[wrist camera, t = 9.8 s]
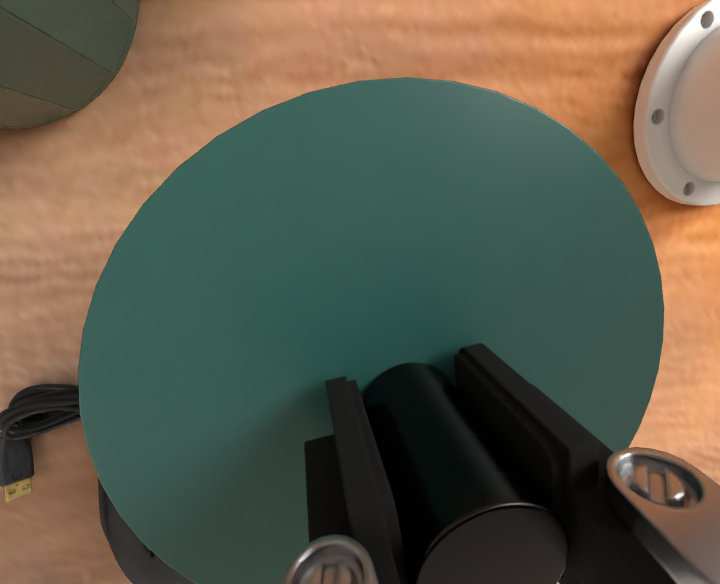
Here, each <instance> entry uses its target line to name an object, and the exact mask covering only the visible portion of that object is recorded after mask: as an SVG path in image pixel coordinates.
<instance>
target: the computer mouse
mask: <svg viewBox="0 0 720 584" xmlns="http://www.w3.org/2000/svg"><path fill="white" fill-rule="evenodd" d="M55 410H56V411H55ZM49 411H53V412H49ZM42 412H49V413H45V414H43V413H42ZM80 419H81V416H80V406H79V386H72V385H64V384H44V385H36V386H31V387H28V388H26V389H23V390H22V391H20V392H18V393H17V394H16V395H15V396H14V397H13V399H12V400H11V402H10V404H9V407H8V408H7V409H6V410H4V411H2V412H1V413H0V430H2V434H1V436H0V486H4V489H5V497H6V502H10V501H12V500H15V499H16V498H19V497H22V496H26V495H28V494H30V493H32V487H31V477H32V476H33V475H34V474H35V473H34V464H33V453H32V446H31V443H30V441H29V439H28V438H29V437H33V436H35V435H40V434H42V433H45V432H48V431H51V430H54V429H57V428H60V427H62V426H65V425H67V424H70V423H73V422H75V421H78V420H80ZM98 491H99V509H100V519H101V525H102V528H103V531H104V533H105V536H106V538H107V540H108V542H109V545H110V547H111V550H112V552H113V554H114V556H115V558H116V560H117V562H118V564H119V566H120V568H121V569H122V571H123V572H124V573H125V575H126V576H127V577H128V579H129V580H130V581H131V582H132V583H133V584H196V583H194V582H192V581H191V580H190V579H188V578H187V577H185V576H184V575H182V574H181V573H179V572H178V571H176V570H175V569H173V568H172V567H170V566H169V565H167V564H166V563H165V562H164V561H163V560H162V559H160V558H159V557H158V556H157V555H156V554H155V553H154V552H153V551H152V550H150V549H149V548H148V547H147V546H146V545H145V544H144V543H143V542H142V541H141V540H140V539H139V538H138V537H137V535H136V534H135V533H134V532H133V531H132V529H131V528H130V527H129V526H128V524H127V523H126V522H125V521H124V520H123V518H122V517H121V516H120V515H119V513H118V511H117V510H116V508H115V506H114V505H113V503H112V501H111V500H110V498H109V496H108V495H107V493H106V491H105V489H104V488H103V486H102V484H101V482H100V479H99V477H98Z"/></svg>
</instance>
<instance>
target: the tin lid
mask: <svg viewBox="0 0 720 584" xmlns="http://www.w3.org/2000/svg"><path fill="white" fill-rule="evenodd" d="M663 325H664V302H663V292H662V282H661V274H660V270H659V266H658V262H657V258H656V254H655V249H654V245H653V242H652V240H651V237H650V235H649V232H648V230H647V227H646V225H645V222H644V220H643V218H642V215H641V213H640V211H639V209H638V207H637V206H636V204H635V202H634V201H633V199H632V197H631V196H630V194H629V192H628V191H627V189H626V187H625V186H624V184H623V182H622V181H621V180H620V179H619V177H618V176H617V175H616V174H615V173H614V171H613V170H612V169H611V168H610V167H609V165H608V164H607V163H606V162H605V161H604V159H603V158H602V157H601V156H600V155H599V154H598V153H597V152H596V151H595V150H594V149H593V148H592V147H590V146H589V145H588V144H587V143H586V142H585V141H583V140H582V139H581V138H580V137H579V136H578V135H577V134H575V133H574V132H573V131H572V130H571V129H569V128H568V127H566V126H565V125H563V124H561V123H560V122H558V121H556V120H555V119H553V118H552V117H550V116H548V115H547V114H545V113H544V112H542V111H540V110H539V109H537V108H535V107H533V106H531V105H528V104H526V103H523V102H521V101H518V100H516V99H514V98H511V97H509V96H506V95H504V94H502V93H499V92H497V91H493V90H489V89H484V88H480V87H476V86H472V85H468V84H463V83H459V82H455V81H446V80H434V79H421V78H408V77H405V78H392V79H378V80H365V81H356V82H352V83H347V84H343V85H338V86H334V87H330V88H325V89H321V90H316V91H312V92H309V93H306V94H303V95H301V96H298V97H296V98H293V99H291V100H288V101H285V102H283V103H280V104H278V105H275V106H273V107H270V108H267V109H265V110H262V111H261V112H259V113H257V114H255V115H254V116H252V117H250V118H248V119H247V120H245V121H243V122H241V123H240V124H238V125H236V126H234V127H233V128H231V129H229V130H227V131H226V132H224V133H222V134H220V135H219V136H217V137H216V138H214V139H213V140H212V141H211V142H209V143H208V144H207V145H206V146H204V147H203V148H202V149H200V150H199V151H198V152H197V153H195V154H194V155H193V156H192V157H190V158H189V159H188V160H187V161H185V162H184V163H183V164H181V165H180V166H179V167H178V168H177V169H176V170H175V171H174V172H173V173H172V174H171V175H170V176H169V177H168V178H167V179H166V180H165V181H164V183H163V184H162V185H161V186H160V187H159V188H158V189H157V190H156V191H155V192H154V193H153V194H152V195H151V196H150V197H149V199H148V200H147V201H146V202H145V203H144V204H143V205H142V207H141V208H140V210H139V211H138V213H137V214H136V215H135V217H134V218H133V220H132V221H131V223H130V224H129V226H128V227H127V229H126V230H125V231H124V233H123V234H122V236H121V237H120V239H119V240H118V242H117V243H116V245H115V247H114V249H113V251H112V253H111V255H110V257H109V259H108V262H107V264H106V266H105V268H104V270H103V272H102V274H101V276H100V278H99V280H98V283H97V285H96V287H95V291H94V294H93V297H92V301H91V304H90V308H89V311H88V314H87V318H86V321H85V325H84V328H83V335H82V343H81V351H80V359H79V368H78V383H79V406H80V416H81V420H82V425H83V430H84V434H85V439H86V444H87V448H88V452H89V454H90V457H91V459H92V462H93V464H94V467H95V469H96V472H97V474H98V477H99V479H100V482H101V484H102V486H103V488H104V489H105V491H106V493H107V495H108V496H109V498H110V500H111V501H112V503H113V505H114V506H115V508H116V510H117V511H118V513H119V515H120V516H121V517H122V518H123V520H124V521H125V522H126V523H127V524H128V526H129V527H130V528H131V529H132V531H133V532H134V533H135V534H136V535H137V537H138V538H139V539H140V540H141V541H142V542H143V543H144V544H145V545H146V546H147V547H148V548H149V549H150V550H152V551H153V552H154V553H155V554H156V555H157V556H158V557H159V558H160V559H162V560H163V561H164V562H165V563H166V564H167V565H169V566H170V567H172V568H173V569H175V570H176V571H178V572H179V573H181V574H182V575H184V576H185V577H187V578H188V579H190V580H191V581H192V582H194V583H196V584H281V581H282V578H283V576H284V573H285V571H286V568H287V566H288V564H289V563H290V562H291V560H292V559H293V557H294V556H295V555H296V553H297V552H299V551H300V550H301V549H302V548H303V547H304V546H306V545H307V544H308V543H309V533H308V512H307V492H306V471H305V451H304V443H305V441H309V440H313V439H316V438H320V437H324V436H328V435H332V434H334V430H333V424H332V419H331V413H330V407H329V401H328V395H327V389H326V383H325V381H326V380H330V379H334V378H339V377H343V376H346V378H347V381H350V380H356V382H357V386H358V389H359V392H360V395H361V398H362V401H363V404H364V407H365V410H366V413H367V416H368V420H369V423H370V426H371V429H372V432H373V435H374V438H375V441H376V444H377V447H378V450H379V454H380V457H381V460H382V463H383V466H384V469H385V472H386V475H387V478H388V481H389V484H390V488H391V491H392V495H393V498H394V502H395V507H396V511H397V516H398V521H399V527H400V533H401V538H402V544H403V549H404V555H405V560H406V564H405V567H406V575H407V578H408V582H409V584H557V582H558V581H559V580H560V578H561V576H562V574H563V572H564V570H565V567H566V565H567V561H568V557H569V549H570V545H569V537H568V534H567V530H566V528H565V526H564V523H563V522H562V520H561V519H560V518H559V516H558V515H557V514H556V512H555V511H554V510H553V509H552V507H551V506H550V505H549V504H548V502H547V501H546V500H545V499H544V497H543V496H542V495H541V494H540V492H539V491H538V490H537V489H536V487H535V486H534V485H533V484H532V482H531V481H530V480H529V479H528V477H527V476H526V475H525V474H524V472H523V471H522V470H521V469H520V467H519V466H518V465H517V464H516V462H515V461H514V460H513V459H512V457H511V456H510V455H509V454H508V452H507V451H506V450H505V449H504V447H503V446H502V445H501V443H500V442H499V441H498V440H497V438H496V437H495V436H494V435H493V433H492V432H491V431H490V430H489V428H488V427H487V426H486V425H485V423H484V422H483V421H482V420H481V418H480V417H479V416H478V415H477V413H476V412H475V411H474V410H473V408H472V407H471V406H470V405H469V403H468V402H467V401H466V400H465V398H464V397H463V396H462V395H461V393H460V392H459V391H458V390H457V387H456V378H455V368H454V356H455V355H457V354H459V350H460V348H462V347H466V346H470V345H474V344H478V343H483V344H484V345H485V346H487V347H488V348H489V349H490V350H491V351H492V352H494V353H495V354H496V355H497V356H498V357H500V358H501V359H502V360H503V361H504V362H505V363H507V364H508V365H509V366H510V367H511V368H512V369H514V370H515V371H516V372H517V373H518V374H519V375H521V376H522V377H523V378H524V379H525V380H527V381H528V382H529V383H530V384H532V385H534V386H536V387H537V388H538V389H539V390H541V391H542V392H543V393H544V394H545V395H547V396H548V397H549V398H550V399H551V400H552V401H554V402H555V403H556V404H557V405H558V406H560V407H561V408H562V409H563V410H564V411H566V412H567V413H568V414H569V415H570V416H571V417H573V418H574V419H575V420H576V421H577V422H579V423H580V424H581V425H582V426H583V427H584V428H586V429H587V430H588V431H589V432H590V433H592V434H593V435H594V436H595V437H596V438H598V439H599V440H600V441H601V442H602V443H603V444H605V445H606V446H607V447H608V448H609V449H611V450H612V451H613V452H616V451H619V450H621V449H624V448H628V447H629V446H630V444H631V442H632V440H633V438H634V436H635V434H636V432H637V430H638V429H639V426H640V424H641V421H642V419H643V416H644V414H645V411H646V409H647V406H648V404H649V401H650V398H651V394H652V391H653V387H654V384H655V380H656V376H657V373H658V369H659V362H660V356H661V349H662V343H663Z"/></svg>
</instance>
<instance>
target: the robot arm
mask: <svg viewBox="0 0 720 584" xmlns="http://www.w3.org/2000/svg"><path fill="white" fill-rule="evenodd" d="M633 127H634V143H635V149H636V153H637V157H638V161H639V164H640V166H641V168H642V170H643V173H644V175H645V177H646V178H647V180H648V181H649V182H650V183H651V185H652V186H653V187H654V189H655V190H657V191H658V192H659V193H661V194H662V195H663V196H664V197H666V198H667V199H670V200H672V201H675V202H677V203H680V204H688V205H698V206H714V205H719V204H720V0H705V1H704V2H702V3H701V4H699V5H697V6H696V7H694V8H693V9H691V10H690V11H689V12H688V13H687V14H686V15H685V16H684V17H683V18H681V19H680V20H679V21H678V22H677V23H676V24H675V25H674V26H673V28H672V29H671V30H670V31H669V33H668V34H667V35H666V37H665V38H664V39H663V40H662V42H661V43H660V45H659V47H658V48H657V50H656V52H655V54H654V55H653V57H652V59H651V60H650V62H649V65H648V67H647V69H646V72H645V74H644V77H643V79H642V82H641V85H640V89H639V93H638V97H637V101H636V105H635V115H634V125H633ZM454 368H455V378H456V387H457V390H458V391H459V392H460V393H461V395H462V396H463V397H464V398H465V400H466V401H467V402H468V403H469V405H470V406H471V407H472V408H473V410H474V411H475V412H476V413H477V415H478V416H479V417H480V418H481V420H482V421H483V422H484V423H485V425H486V426H487V427H488V428H489V430H490V431H491V432H492V433H493V435H494V436H495V437H496V438H497V440H498V441H499V442H500V443H501V445H502V446H503V447H504V449H505V450H506V451H507V452H508V454H509V455H510V456H511V457H512V459H513V460H514V461H515V462H516V464H517V465H518V466H519V467H520V469H521V470H522V471H523V472H524V474H525V475H526V476H527V477H528V479H529V480H530V481H531V482H532V484H533V485H534V486H535V487H536V489H537V490H538V491H539V492H540V494H541V495H542V496H543V497H544V499H545V500H546V501H547V502H548V504H549V505H550V506H551V507H552V509H553V510H554V511H555V512H556V514H557V515H558V516H559V518H560V519H561V520H562V522H563V523H564V526H565V528H566V530H567V534H568V537H569V545H570V549H569V557H568V561H567V565H566V567H565V570H564V572H563V574H562V576H561V578H560V580H559V581H558V582H559V583H560V584H720V486H719V485H718V484H717V483H715V482H714V481H713V480H711V479H710V478H709V477H708V476H706V475H705V474H704V473H702V472H701V471H700V470H698V469H697V468H695V467H694V466H692V465H691V464H689V463H688V462H686V461H684V460H683V459H680V458H678V457H676V456H674V455H671V454H669V453H666V452H662V451H659V450H655V449H650V448H640V447H633V448H624V449H621V450H619V451H616V452H613V451H612V450H611V449H609V448H608V447H607V446H606V445H605V444H603V443H602V442H601V441H600V440H599V439H598V438H596V437H595V436H594V435H593V434H592V433H590V432H589V431H588V430H587V429H586V428H584V427H583V426H582V425H581V424H580V423H579V422H577V421H576V420H575V419H574V418H573V417H571V416H570V415H569V414H568V413H567V412H566V411H564V410H563V409H562V408H561V407H560V406H558V405H557V404H556V403H555V402H554V401H552V400H551V399H550V398H549V397H548V396H547V395H545V394H544V393H543V392H542V391H541V390H539V389H538V388H537V387H536V386H534V385H532V384H530V383H529V382H528V381H527V380H525V379H524V378H523V377H522V376H521V375H519V374H518V373H517V372H516V371H515V370H514V369H512V368H511V367H510V366H509V365H508V364H507V363H505V362H504V361H503V360H502V359H501V358H500V357H498V356H497V355H496V354H495V353H494V352H492V351H491V350H490V349H489V348H488V347H487V346H485V345H484V344H483V343H478V344H474V345H470V346H466V347H462V348H460V350H459V354H457V355H455V356H454ZM325 383H326V389H327V395H328V401H329V407H330V413H331V419H332V424H333V430H334V434H332V435H328V436H324V437H320V438H316V439H313V440H309V441H305V443H304V451H305V471H306V492H307V512H308V533H309V543H308V544H307V545H306V546H304V547H303V548H302V549H301V550H300V551H299V552H297V553H296V555H295V556H294V557H293V559H292V560H291V562H290V563H289V564H288V566H287V568H286V571H285V573H284V576H283V578H282V581H281V584H409V582H408V578H407V575H406V567H405V564H406V560H405V555H404V549H403V544H402V538H401V533H400V527H399V521H398V516H397V511H396V507H395V502H394V498H393V495H392V491H391V488H390V484H389V481H388V478H387V475H386V472H385V469H384V466H383V463H382V460H381V457H380V454H379V450H378V447H377V444H376V441H375V438H374V435H373V432H372V429H371V426H370V423H369V420H368V416H367V413H366V410H365V407H364V404H363V401H362V398H361V395H360V392H359V389H358V386H357V382H356V380H350V381H347V378H346V376H343V377H339V378H334V379H330V380H326V381H325Z"/></svg>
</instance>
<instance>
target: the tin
mask: <svg viewBox="0 0 720 584" xmlns="http://www.w3.org/2000/svg"><path fill="white" fill-rule="evenodd" d="M138 8H139V0H0V129H17V128H18V129H24V128H29V127H34V126H39V125H43V124H48V123H51V122H54V121H56V120H59V119H62V118H64V117H67V116H69V115H71V114H73V113H74V112H76V111H78V110H80V109H81V108H83V107H85V106H86V105H87V104H89V103H90V102H91V101H92V100H93V99H95V98H96V97H97V96H98V95H100V94H101V92H102V91H103V90H104V89H105V88H106V87H107V86H108V85H109V83H110V82H111V81H112V80H113V78H114V77H115V75H116V74H117V72H118V71H119V69H120V67H121V66H122V64H123V62H124V60H125V58H126V55H127V53H128V51H129V48H130V46H131V43H132V39H133V35H134V32H135V28H136V23H137V15H138Z"/></svg>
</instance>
